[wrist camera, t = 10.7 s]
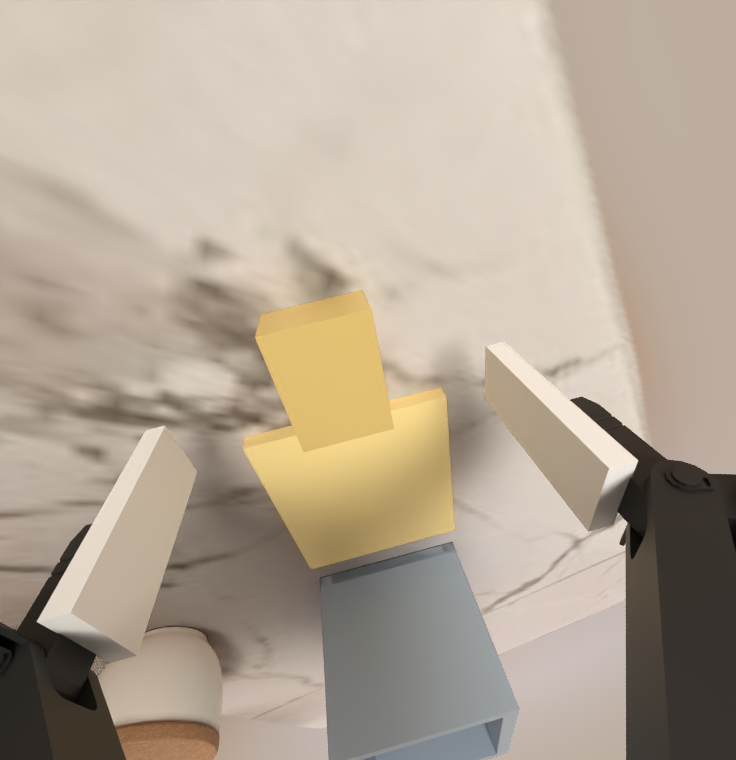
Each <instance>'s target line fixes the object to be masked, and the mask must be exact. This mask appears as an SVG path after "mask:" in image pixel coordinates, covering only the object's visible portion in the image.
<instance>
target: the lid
mask: <svg viewBox="0 0 736 760" xmlns="http://www.w3.org/2000/svg"><path fill="white" fill-rule="evenodd" d="M255 338H256V341H257V343H258V346H259V348H260V350H261V353H262V355H263V357H264V360H265V362H266V365H267V367H268V369H269V372H270V374H271V376H272V379H273V381H274V384H275V386H276V388H277V391H278V393H279V395H280V398H281V400H282V403H283V405H284V407H285V410H286V412H287V414H288V417H289V419H290V422H291V424H292V426H288V427H284V428H280V429H276V430H272V431H268V432H264V433H261V434H257V435H253V436H249V437H245V439H244V445H243V451H244V452H245V454H246V456H247V458H248V459H249V461H250V463H251V465H252V466H253V468H254V470H255V472H256V474H257V475H258V477H259V479H260V481H261V482H262V484H263V486H264V488H265V489H266V491H267V493H268V495H269V497H270V498H271V500H272V502H273V504H274V505H275V507H276V509H277V511H278V512H279V514H280V516H281V518H282V520H283V521H284V523H285V525H286V527H287V528H288V530H289V532H290V534H291V535H292V537H293V539H294V541H295V543H296V544H297V546H298V548H299V550H300V551H301V553H302V555H303V557H304V558H305V560H306V562H307V564H308V565H309V567H310V569H311V570H312V569H315V568H319V567H323V566H326V565H330V564H334V563H337V562H341V561H345V560H348V559H352V558H356V557H359V556H363V555H366V554H370V553H374V552H377V551H381V550H385V549H388V548H392V547H396V546H399V545H403V544H407V543H410V542H414V541H417V540H421V539H425V538H428V537H432V536H436V535H439V534H443V533H447V532H450V531H454V530H455V526H454V510H453V494H452V478H451V463H450V447H449V431H448V416H447V400H446V395H445V394H444V392H443V390H442V389H441V388H437V389H433V390H429V391H425V392H421V393H417V394H413V395H409V396H405V397H401V398H398V399H394V400H390V401H389V399H388V394H387V389H386V384H385V378H384V373H383V368H382V362H381V357H380V352H379V347H378V341H377V336H376V331H375V325H374V320H373V315H372V310H371V307H370V305H369V303H368V301H367V299H366V297H365V295H364V293H363V291H362V290H360V291H355V292H351V293H347V294H343V295H339V296H335V297H331V298H327V299H322V300H318V301H314V302H310V303H306V304H302V305H298V306H293V307H289V308H285V309H281V310H277V311H273V312H269V313H265V314H260V319H259V323H258V327H257V331H256V336H255Z"/></svg>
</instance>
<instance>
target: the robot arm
mask: <svg viewBox="0 0 736 760" xmlns="http://www.w3.org/2000/svg"><path fill="white" fill-rule="evenodd" d="M485 400H486V401H487V402H488V404H489V405H490V406H491V408H492V409H493V410H494V411H495V413H496V414H497V415H498V417H499V418H500V419H501V420H502V422H503V423H504V424H505V425H506V427H507V428H508V429H509V431H510V432H511V433H512V434H513V436H514V437H515V438H516V440H517V441H518V442H519V443H520V445H521V446H522V447H523V449H524V450H525V451H526V452H527V454H528V455H529V456H530V457H531V459H532V460H533V461H534V463H535V464H536V465H537V466H538V468H539V469H540V470H541V472H542V473H543V474H544V475H545V477H546V478H547V479H548V480H549V482H550V483H551V484H552V486H553V487H554V488H555V489H556V491H557V492H558V493H559V495H560V496H561V497H562V498H563V500H564V501H565V502H566V504H567V505H568V506H569V507H570V509H571V510H572V511H573V512H574V514H575V515H576V516H577V518H578V519H579V520H580V521H581V523H582V524H583V525H584V527H585V528H586V529H587V530H588V531H592V530H595V529H599V528H603V527H606V526H610V525H613V524H614V521H615V519H616V516H617V513H619V514H620V515H621V516H622V517H623V518H624V519H625V520H626V521H627V522H628V524H627V526H626V528H625V531H624V533H623V535H622V537H621V540H620V545H623V546H624V545H625V543H626V760H736V475H731V474H708V473H707V472H705V471H704V470H702V469H700V468H698V467H696V466H694V465H691V464H688V463H685V462H682V461H674V460H667V459H666V458H664V457H663V456H662V455H660V454H659V453H658V452H657V451H656V450H654V449H653V448H652V447H651V446H649V445H648V444H647V443H646V442H645V441H643V440H642V439H641V438H640V437H638V436H637V435H636V434H635V433H633V432H632V431H631V430H630V429H628V428H627V427H626V426H625V425H624V426H623V425H622V423H621V422H620V421H619V420H617V419H616V418H615V417H612V416H611V414H610V413H609V412H608V411H606V410H605V409H604V408H603V407H601V406H600V405H599V404H597V403H595V402H592V401H590V400H588V399H586V398H584V397H579V398H575V399H571V400H569V399H568V398H567V397H566V396H565V395H564V394H562V393H561V392H560V391H559V390H558V389H557V388H556V387H554V386H553V385H552V384H551V383H550V382H549V381H548V380H547V379H545V378H544V377H543V376H542V375H541V374H540V373H539V372H537V371H536V370H535V369H534V368H533V367H532V366H531V365H530V364H528V363H527V362H526V361H525V360H524V359H523V358H522V357H520V356H519V355H518V354H517V353H516V352H515V351H514V350H513V349H511V348H510V347H509V346H508V345H507V344H506V343H505V342H500V343H496V344H492V345H488V346H486V357H485ZM196 475H197V471H196V469H195V468H194V466H193V465H192V463H191V462H190V460H189V459H188V458H187V456H186V455H185V453H184V452H183V450H182V449H181V448H180V446H179V445H178V443H177V442H176V440H175V439H174V437H173V436H172V435H171V433H170V432H169V430H168V429H167V427H166V426H162V427H158V428H154V429H150V430H146V431H145V433H144V434H143V436H142V438H141V440H140V441H139V443H138V445H137V447H136V448H135V450H134V452H133V454H132V455H131V457H130V459H129V461H128V462H127V464H126V466H125V468H124V469H123V471H122V473H121V475H120V476H119V478H118V480H117V482H116V483H115V485H114V487H113V489H112V490H111V492H110V494H109V496H108V498H107V499H106V501H105V503H104V505H103V506H102V508H101V510H100V512H99V513H98V515H97V517H96V519H95V520H94V522H93V524H90V525H86V526H85V527H84V528H83V529H82V530H81V531H80V532H79V533H78V534H77V536H76V537H75V538H74V539H73V540H72V541H71V542H70V544H69V545H68V547H67V549H66V550H65V552H64V554H63V555H62V557H61V559H60V563H58V564H57V565H56V567H55V568H54V570H53V572H52V573H51V574H52V576H51V577H50V578H48V580H47V582H46V583H45V585H44V587H43V588H42V590H41V592H40V593H39V595H38V597H37V598H36V600H35V602H34V603H33V605H32V607H31V608H30V610H29V612H28V613H27V615H26V617H25V618H24V620H23V622H22V623H21V625H20V627H19V628H18V630H17V631H16V630H14V629H12V628H10V627H8V626H6V625H4V624H3V623H1V622H0V760H126V757H125V754H124V752H123V749H122V746H121V743H120V740H119V737H118V734H117V731H116V729H115V726H114V723H113V720H112V717H111V714H110V711H109V708H108V706H107V703H106V700H105V697H104V694H103V691H102V688H101V685H100V683H99V680H98V677H97V675H96V674H95V673H94V672H93V671H92V670H90V669H91V667H92V664H93V662H94V659H95V657H96V656H98V657H99V658H101V659H103V660H105V661H106V662H108V663H112V662H116V661H120V660H123V659H127V658H131V657H134V656H138V653H139V649H140V646H141V643H142V640H143V637H144V634H145V631H146V628H147V625H148V622H149V619H150V616H151V613H152V610H153V607H154V604H155V601H156V598H157V594H158V591H159V588H160V585H161V582H162V579H163V576H164V573H165V570H166V567H167V564H168V561H169V558H170V555H171V552H172V549H173V546H174V542H175V539H176V536H177V533H178V530H179V527H180V524H181V521H182V518H183V515H184V512H185V509H186V506H187V503H188V500H189V497H190V494H191V491H192V487H193V484H194V481H195V478H196Z"/></svg>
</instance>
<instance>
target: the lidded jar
mask: <svg viewBox="0 0 736 760" xmlns="http://www.w3.org/2000/svg"><path fill="white" fill-rule="evenodd" d="M98 680H99V683H100V685H101V688H102V691H103V694H104V697H105V700H106V703H107V706H108V708H109V711H110V714H111V717H112V720H113V723H114V726H115V729H116V731H117V734H118V737H119V740H120V743H121V746H122V749H123V752H124V754H125V757H126V760H213V759H214V757H215V755H216V754H217V751H218V746H219V727H220V720H221V711H222V699H223V683H222V671H221V666H220V662H219V660H218V657H217V655H216V653H215V651H214V650H213V648H212V647H211V646H210V644H209V643H208V642H207V637H206V635H205V634H204V633H203V632H201V631H199V630H197V629H193V628H189V627H177V626H176V627H163V628H157V629H153V630H150V631H147V632H145V634H144V637H143V640H142V643H141V646H140V649H139V653H138V656H134V657H131V658H127V659H123V660H120V661H116V662H112V663H109V664H108V665H107V666H106V667H105V668H104V669H103V671H102V672H101V673H100V675H99V676H98Z"/></svg>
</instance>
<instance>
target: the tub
mask: <svg viewBox="0 0 736 760" xmlns="http://www.w3.org/2000/svg"><path fill="white" fill-rule="evenodd" d="M320 592H321V612H322V633H323V653H324V673H325V693H326V713H327V734H328V754H329V760H487V759H491V758H494V757H497V756H501V755H504V754H507V753H508V750H509V746H510V743H511V738H512V735H513V731H514V727H515V724H516V720H517V716H518V713H519V706H518V704H517V702H516V699H515V697H514V694H513V692H512V689H511V687H510V684H509V682H508V679H507V677H506V674H505V672H504V669H503V667H502V664H501V662H500V659H499V657H498V654H497V652H496V649H495V647H494V644H493V642H492V639H491V637H490V634H489V632H488V629H487V627H486V624H485V622H484V619H483V617H482V614H481V612H480V610H479V607H478V605H477V602H476V600H475V597H474V595H473V592H472V590H471V587H470V585H469V582H468V580H467V577H466V575H465V572H464V570H463V567H462V565H461V562H460V560H459V557H458V555H457V552H456V550H455V547H454V545H453V542H451V543H448V544H444V545H440V546H437V547H433V548H429V549H426V550H422V551H418V552H415V553H411V554H407V555H404V556H400V557H396V558H392V559H389V560H385V561H381V562H378V563H374V564H370V565H367V566H363V567H359V568H356V569H352V570H348V571H345V572H341V573H337V574H334V575H330V576H326V577H323V578H320Z"/></svg>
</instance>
